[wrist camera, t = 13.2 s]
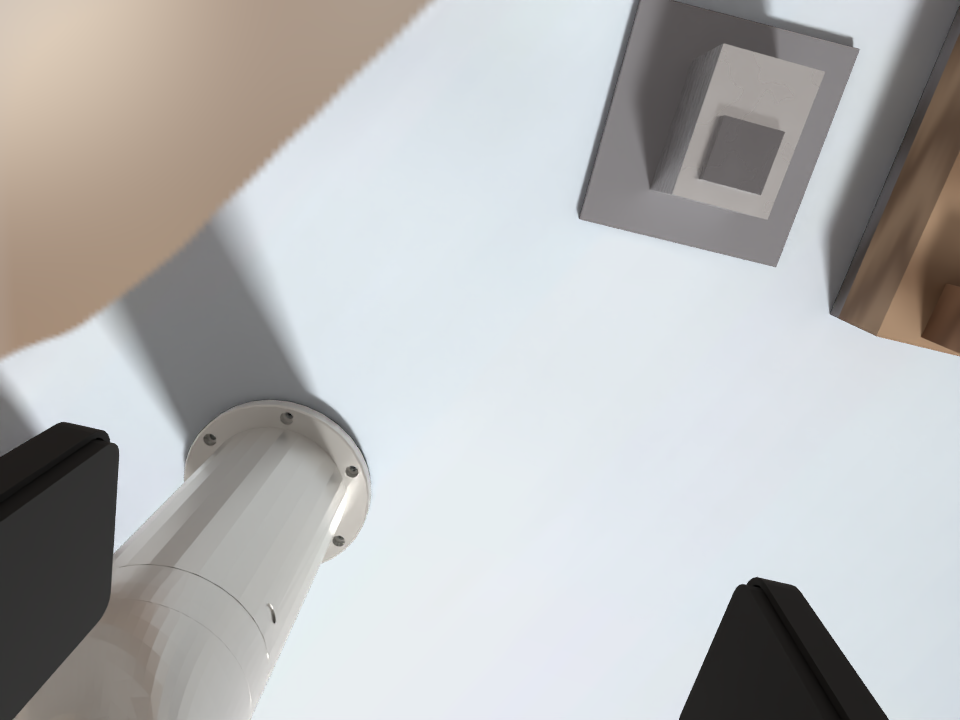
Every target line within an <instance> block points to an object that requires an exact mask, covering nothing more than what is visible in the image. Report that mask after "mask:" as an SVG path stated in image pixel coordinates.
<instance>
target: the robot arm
mask: <svg viewBox="0 0 960 720" xmlns="http://www.w3.org/2000/svg"><path fill="white" fill-rule="evenodd" d="M288 413H290V414H291V415H292V416H289V414H288ZM118 465H119V449H118V446H117V445H116V444H114V443H110V439H109V436H108V434H107V433H106V432H105V431H103V430H99V429H94V428H90V427H85V426H81V425H76V424H72V423H67V422H61V423H58V424H56V425H54V426H52V427H51V428H49V429H47V430H45V431H44V432H42V433H40V434H39V435H37V436H35V437H34V438H32V439H30V440H29V441H27V442H25V443H23V444H22V445H20V446H18V447H17V448H15V449H13V450H12V451H10V452H8V453H7V454H5V455H3V456H1V457H0V720H251V717H252V715H253V713H254V711H255V708H256V706H257V704H258V702H259V699H260V697H261V695H262V693H263V691H264V689H265V687H266V685H267V682H268V680H269V678H270V676H271V673H272V671H273V669H274V667H275V665H276V662H277V660H278V658H279V656H280V654H281V651H282V649H283V647H284V645H285V642H286V640H287V638H288V636H289V634H290V631H291V629H292V627H293V625H294V622H295V620H296V618H297V616H298V614H299V611H300V609H301V607H302V605H303V602H304V600H305V598H306V596H307V594H308V591H309V589H310V587H311V585H312V582H313V580H314V578H315V576H316V574H317V571H318V569H319V567H320V565H321V564H322V563H324V562H326V561H328V560H331V559H333V558H334V557H336V556H337V555H338V554H340V553H341V552H343V551H344V550H345V549H346V548H347V547H348V546H349V545H350V544H351V543H352V542H353V541H354V540H355V538H356V537H357V535H358V533H359V532H360V530H361V528H362V527H363V524H364V522H365V519H366V517H367V514H368V511H369V506H370V501H371V480H370V476H369V471H368V467H367V465H366V462H365V460H364V458H363V456H362V453H361V451H360V450H359V448H358V447H357V446H356V444H355V443H354V441H353V440H352V438H351V437H350V436H349V435H348V434H347V433H346V432H345V431H344V430H343V429H342V428H341V427H340V426H339V425H338V424H336V423H335V422H334V421H332V420H331V419H329V418H328V417H326V416H325V415H324V414H322V413H320V412H317V411H315V410H313V409H311V408H309V407H307V406H303V405H300V404H296V403H293V402H289V401H279V400H260V401H251V402H248V403H244V404H241V405H237V406H235V407H233V408H231V409H229V410H227V411H225V412H223V413H221V414H220V415H219V416H218V417H216V418H215V419H214V420H213V421H211V422H210V423H209V424H208V425H207V426H206V427H205V428H204V429H203V430H202V431H201V432H200V433H199V434H198V436H197V437H196V439H195V441H194V442H193V444H192V446H191V447H190V450H189V453H188V456H187V459H186V462H185V470H184V483H183V484H182V485H181V486H180V487H179V488H178V489H177V490H176V491H175V492H174V493H173V494H172V495H171V496H170V497H169V498H168V499H167V500H166V501H165V502H164V503H163V504H162V505H161V506H160V507H159V508H158V509H157V510H156V511H155V512H154V513H153V514H152V515H151V516H150V518H149V519H148V520H147V521H146V522H145V523H144V524H143V525H142V526H141V527H140V528H139V529H138V530H137V531H136V532H135V533H134V534H133V535H132V536H131V537H130V538H129V539H128V540H127V541H126V542H125V543H124V544H123V545H122V546H121V547H120V548H119V549H118V550H117V551H116V552H115V553H114V554H113V548H114V532H115V515H116V498H117V481H118ZM352 466H354V467H356V468H353V467H352ZM679 720H889V719H888V718H887V716H886V715H885V713H884V712H883V710H882V709H881V707H880V706H879V705H878V703H877V702H876V700H875V699H874V697H873V696H872V694H871V693H870V692H869V690H868V689H867V687H866V686H865V684H864V683H863V681H862V680H861V678H860V677H859V676H858V674H857V673H856V671H855V670H854V668H853V667H852V665H851V664H850V663H849V661H848V660H847V658H846V657H845V655H844V654H843V652H842V651H841V650H840V648H839V647H838V645H837V644H836V642H835V641H834V639H833V638H832V637H831V635H830V634H829V632H828V631H827V629H826V628H825V626H824V625H823V624H822V622H821V621H820V619H819V618H818V616H817V615H816V613H815V612H814V611H813V609H812V608H811V606H810V605H809V603H808V602H807V600H806V599H805V598H804V596H803V595H802V593H801V592H800V591H799V590H798V589H797V588H796V587H795V586H793V585H789V584H785V583H780V582H776V581H772V580H767V579H763V578H758V577H756V578H752V579H751V580H750V581H749V582H748V583H747V585H745V584H741V585H739V586H738V587H737V588H736V589H735V591H734V593H733V595H732V598H731V600H730V602H729V604H728V607H727V609H726V611H725V614H724V616H723V618H722V621H721V623H720V625H719V627H718V630H717V632H716V634H715V637H714V639H713V641H712V644H711V646H710V648H709V651H708V653H707V655H706V657H705V660H704V662H703V664H702V667H701V669H700V671H699V674H698V676H697V678H696V681H695V683H694V685H693V687H692V690H691V692H690V694H689V697H688V699H687V701H686V704H685V706H684V708H683V710H682V713H681V715H680V718H679Z"/></svg>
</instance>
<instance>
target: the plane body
mask: <svg viewBox="0 0 960 720" xmlns="http://www.w3.org/2000/svg"><path fill="white" fill-rule="evenodd" d="M830 315H832V316H835V317H837V318H839V319H841V320H843V321H845V322H847V323H849V324H852V325H854V326H856V327H858V328H860V329H862V330H864V331H866V332H869V333H871V334H873V335H875V336H878V337H882V338H886V339H890V340H894V341H899V342H903V343H907V344H911V345H915V346H919V347H923V348H928V349H932V350H936V351H940V352H944V353H948V354H952V355H957V356H960V7H959V9H958V11H957V14H956V16H955V18H954V21H953V23H952V26H951V28H950V30H949V33H948V35H947V37H946V40H945V42H944V45H943V47H942V49H941V52H940V54H939V56H938V59H937V61H936V64H935V66H934V68H933V71H932V73H931V75H930V78H929V80H928V83H927V85H926V87H925V90H924V92H923V94H922V97H921V99H920V101H919V104H918V106H917V109H916V111H915V113H914V116H913V118H912V120H911V123H910V125H909V128H908V130H907V132H906V135H905V137H904V139H903V142H902V144H901V147H900V149H899V151H898V154H897V156H896V158H895V161H894V163H893V166H892V168H891V170H890V173H889V175H888V177H887V180H886V182H885V185H884V187H883V189H882V192H881V194H880V196H879V199H878V201H877V204H876V206H875V208H874V211H873V213H872V215H871V218H870V220H869V223H868V225H867V227H866V230H865V232H864V234H863V237H862V239H861V242H860V244H859V246H858V249H857V251H856V253H855V256H854V258H853V260H852V263H851V265H850V268H849V270H848V272H847V275H846V277H845V279H844V282H843V284H842V287H841V289H840V291H839V294H838V296H837V298H836V301H835V303H834V306H833V308H832V310H831V313H830Z"/></svg>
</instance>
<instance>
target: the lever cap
mask: <svg viewBox="0 0 960 720" xmlns="http://www.w3.org/2000/svg"><path fill="white" fill-rule="evenodd" d="M824 74H825V72H824V71H821V70H817V69H814V68H810V67H807V66H803V65H799V64H796V63H792V62H789V61H785V60H782V59H778V58H774V57H771V56H767V55H764V54H760V53H757V52H753V51H749V50H746V49H742V48H739V47H735V46H732V45H728V44H724V43H723V44H721V45H719V46H717V47H716V48H714V49H712V50H710V51H708V52H706V53H704V54H702V55H700V56H699V57H697V58H695V59H693V60H692V63H691V66H690V69H689V72H688V75H687V78H686V81H685V84H684V87H683V90H682V93H681V96H680V99H679V102H678V105H677V108H676V111H675V114H674V117H673V121H672V124H671V127H670V130H669V133H668V136H667V139H666V142H665V145H664V148H663V151H662V154H661V157H660V160H659V163H658V166H657V169H656V172H655V175H654V178H653V182H652V185H651V188H650V190H653V191H657V192H660V193H664V194H668V195H672V196H675V197H679V198H683V199H687V200H690V201H694V202H698V203H701V204H705V205H709V206H713V207H716V208H720V209H724V210H728V211H731V212H736V213H740V214H744V215H749V216H753V217H758V218H762V219H767V220H768V217H769V215H770V212H771V209H772V207H773V204H774V202H775V199H776V197H777V194H778V192H779V189H780V186H781V184H782V181H783V179H784V176H785V174H786V171H787V168H788V166H789V163H790V161H791V158H792V156H793V153H794V151H795V148H796V145H797V143H798V140H799V138H800V135H801V133H802V130H803V128H804V125H805V122H806V120H807V117H808V115H809V112H810V110H811V107H812V104H813V102H814V99H815V97H816V94H817V92H818V89H819V87H820V84H821V81H822V79H823V76H824Z"/></svg>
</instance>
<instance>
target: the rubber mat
mask: <svg viewBox="0 0 960 720" xmlns="http://www.w3.org/2000/svg"><path fill="white" fill-rule="evenodd" d="M723 43H724V44H728V45H732V46H735V47H739V48H742V49H746V50H749V51H753V52H757V53H760V54H764V55H767V56H771V57H774V58H778V59H782V60H785V61H789V62H792V63H796V64H799V65H803V66H807V67H810V68H814V69H817V70H821V71H824V72H825V74H824V76H823V79H822V81H821V84H820V87H819V89H818V92H817V94H816V97H815V99H814V102H813V104H812V107H811V110H810V112H809V115H808V117H807V120H806V122H805V125H804V128H803V130H802V133H801V135H800V138H799V140H798V143H797V145H796V148H795V151H794V153H793V156H792V158H791V161H790V163H789V166H788V168H787V171H786V174H785V176H784V179H783V181H782V184H781V186H780V189H779V192H778V194H777V197H776V199H775V202H774V204H773V207H772V209H771V212H770V215H769V217H768V220H767V219H762V218H758V217H753V216H749V215H744V214H740V213H736V212H731V211H728V210H724V209H720V208H716V207H713V206H709V205H705V204H701V203H698V202H694V201H690V200H687V199H683V198H679V197H675V196H672V195H668V194H664V193H660V192H657V191H653V190H650V188H651V185H652V182H653V178H654V175H655V172H656V169H657V166H658V163H659V160H660V157H661V154H662V151H663V148H664V145H665V142H666V139H667V136H668V133H669V130H670V127H671V124H672V121H673V117H674V114H675V111H676V108H677V105H678V102H679V99H680V96H681V93H682V90H683V87H684V84H685V81H686V78H687V75H688V72H689V69H690V66H691V63H692V60H693V59H695V58H697V57H699V56H700V55H702V54H704V53H706V52H708V51H710V50H712V49H714V48H716V47H717V46H719V45H721V44H723ZM859 50H860V49H858V48H854V47H850V46H846V45H842V44H839V43H835V42H831V41H827V40H823V39H819V38H815V37H811V36H808V35H804V34H800V33H796V32H792V31H788V30H784V29H781V28H777V27H773V26H769V25H765V24H761V23H757V22H754V21H750V20H746V19H742V18H738V17H734V16H730V15H727V14H723V13H719V12H715V11H711V10H707V9H703V8H700V7H696V6H692V5H688V4H684V3H680V2H676V1H673V0H640V1H639V4H638V8H637V12H636V15H635V19H634V22H633V26H632V30H631V33H630V37H629V40H628V44H627V47H626V51H625V55H624V58H623V62H622V65H621V69H620V73H619V76H618V80H617V83H616V87H615V91H614V94H613V98H612V101H611V105H610V109H609V112H608V116H607V119H606V123H605V127H604V130H603V134H602V137H601V141H600V145H599V148H598V152H597V155H596V159H595V163H594V166H593V170H592V173H591V177H590V181H589V184H588V188H587V191H586V195H585V199H584V202H583V206H582V209H581V213H580V216H579V219H581V220H585V221H589V222H593V223H597V224H601V225H605V226H609V227H614V228H618V229H622V230H626V231H630V232H634V233H638V234H642V235H646V236H650V237H655V238H659V239H663V240H667V241H671V242H675V243H679V244H683V245H687V246H691V247H696V248H700V249H704V250H708V251H712V252H716V253H720V254H724V255H728V256H732V257H736V258H741V259H745V260H749V261H753V262H757V263H761V264H765V265H769V266H773V267H776V266H777V263H778V261H779V258H780V256H781V253H782V250H783V248H784V245H785V243H786V240H787V237H788V235H789V232H790V230H791V227H792V224H793V222H794V219H795V217H796V214H797V211H798V209H799V206H800V204H801V201H802V198H803V196H804V193H805V191H806V188H807V185H808V183H809V180H810V178H811V175H812V172H813V170H814V167H815V164H816V162H817V159H818V157H819V154H820V151H821V149H822V146H823V144H824V141H825V138H826V136H827V133H828V131H829V128H830V125H831V123H832V120H833V118H834V115H835V112H836V110H837V107H838V105H839V102H840V99H841V97H842V94H843V92H844V89H845V86H846V84H847V81H848V79H849V76H850V73H851V71H852V68H853V66H854V63H855V60H856V58H857V55H858V53H859Z"/></svg>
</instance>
